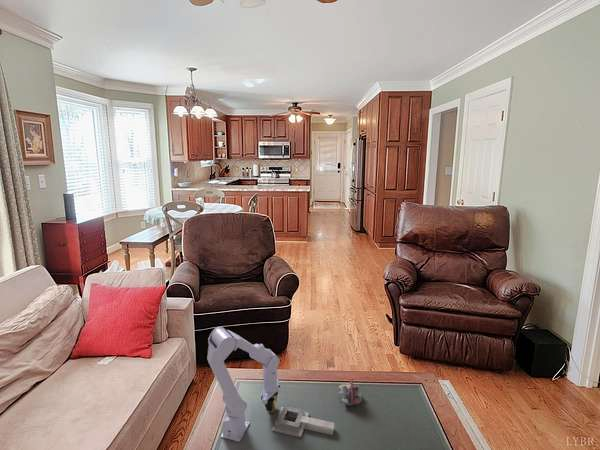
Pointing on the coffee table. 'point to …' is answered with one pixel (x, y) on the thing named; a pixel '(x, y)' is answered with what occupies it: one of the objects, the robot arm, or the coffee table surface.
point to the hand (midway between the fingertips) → (271, 406)
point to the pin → (273, 404)
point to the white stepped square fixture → (300, 423)
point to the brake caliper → (350, 394)
